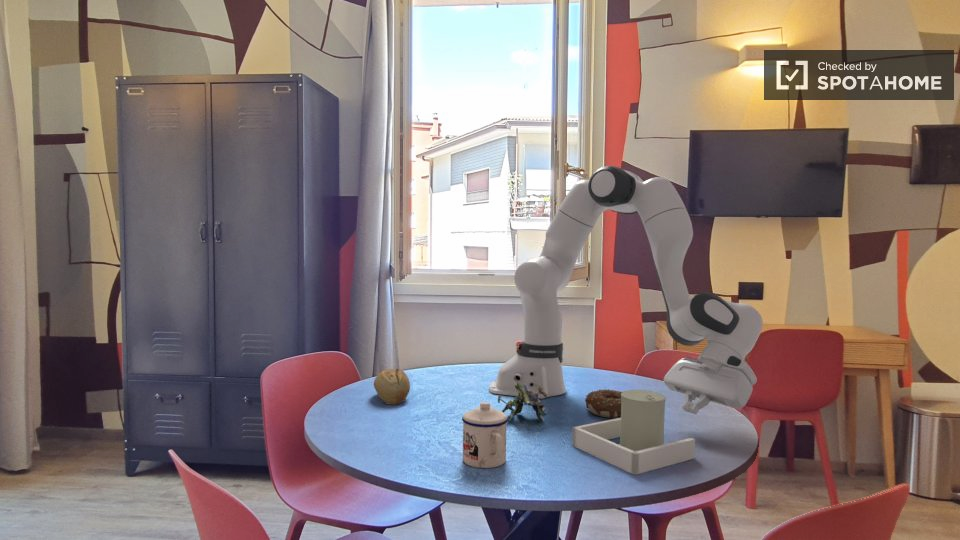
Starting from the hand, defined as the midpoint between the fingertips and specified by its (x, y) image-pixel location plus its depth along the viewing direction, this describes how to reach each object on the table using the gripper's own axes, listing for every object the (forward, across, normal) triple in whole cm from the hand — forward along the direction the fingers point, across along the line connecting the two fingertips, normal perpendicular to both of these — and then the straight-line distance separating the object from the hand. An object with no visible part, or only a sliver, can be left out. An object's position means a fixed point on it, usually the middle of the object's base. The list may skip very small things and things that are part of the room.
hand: (688, 411), depth 131 cm
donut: (+6, -23, +4) cm, 24 cm away
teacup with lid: (+38, -10, -29) cm, 49 cm away
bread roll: (+37, -62, -28) cm, 77 cm away
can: (+14, 0, -6) cm, 16 cm away
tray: (+16, 0, -8) cm, 18 cm away
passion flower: (+23, -28, -14) cm, 38 cm away
